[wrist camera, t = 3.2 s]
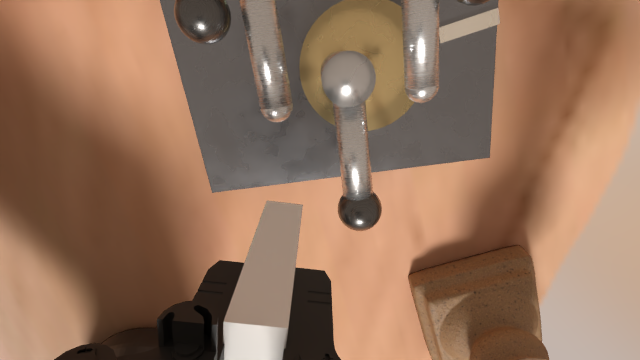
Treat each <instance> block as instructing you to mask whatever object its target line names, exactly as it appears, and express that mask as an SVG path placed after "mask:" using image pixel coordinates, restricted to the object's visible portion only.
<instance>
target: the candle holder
mask: <svg viewBox="0 0 640 360" xmlns="http://www.w3.org/2000/svg"><path fill="white" fill-rule="evenodd" d="M408 279H409V284H410V288H411V292H412V296H413V299H414V303H415V306H416V310H417V313H418V317H419V321H420V324H421V328H422V331H423V335H424V338H425V342H426V345H427V347H428V350H429V353H430V355H431V358H432V360H549V357H548V352H547V350H546V348H545V346H544V345H543V343H542V333H541V320H540V310H539V303H538V297H537V290H536V281H535V272H534V267H533V262H532V258H531V256H530V255H529V254H528V253H527V252H526V251H525V250H524V249H523V248H522V247H521V246H520V245H514V246H510V247H505V248H501V249H497V250H493V251H490V252H486V253H482V254H478V255H475V256H471V257H467V258H464V259H460V260H456V261H452V262H449V263H445V264H441V265H438V266H434V267H430V268H426V269H423V270H420V271H417V272H414V273H411V274H410V275H409V277H408Z"/></svg>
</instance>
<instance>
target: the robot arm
mask: <svg viewBox="0 0 640 360" xmlns="http://www.w3.org/2000/svg"><path fill="white" fill-rule="evenodd" d="M302 207H303V205H300V204H291V203H283V202H275V201H267V202H266V204H265V207H264V210H263V213H262V216H261V218H260V221H259V224H258V227H257V229H256V232H255V235H254V238H253V241H252V243H251V246H250V249H249V252H248V255H247V257H246V260H245V263H240V262H231V261H221V260H220V261H218V262H217V263H216V264H215V265H213V266H212V267H211V268H210V269H208V271H207V273H206V275H205V277H204V279H203V282H202V283H201V285H200V287H199V289H198V292H197V293H196V295H195V297H194V299H193V301H185V302H182V303H179V304H175V305H173V306H172V307H170V308H168V309H167V310H165V311H164V312H163V313H162V314H161V315H160V316H159V317H158V318H157V327H158V328H139V329H132V330H127V331H124V332H121V333H118V334H116V335H113V336H112V337H110V338H108V339H107V340H105V341H104V342H103V343H102V344H96V343H93V344H87V345H81V346H78V347H76V348H73V349H71V350H69V351H66V352H65V353H63V354H62V355H60V356H59V357H57V358H56V359H54V360H341V359H340V358H339V357H338V355H337V353H336V351H335V348H334V341H333V318H332V295H331V281H330V279H329V277H328V276H327V274H326V273H325V271H322V270H313V269H304V268H295V266H296V258H297V249H298V241H299V232H300V224H301V215H302Z"/></svg>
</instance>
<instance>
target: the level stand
mask: <svg viewBox="0 0 640 360" xmlns="http://www.w3.org/2000/svg"><path fill="white" fill-rule="evenodd" d="M175 1H176V0H160V3H161V6H162V10H163V14H164V17H165V21H166V25H167V28H168V32H169V36H170V39H171V43H172V47H173V50H174V54H175V58H176V61H177V65H178V69H179V72H180V76H181V80H182V83H183V87H184V91H185V94H186V98H187V102H188V105H189V109H190V113H191V116H192V120H193V124H194V127H195V131H196V135H197V138H198V142H199V146H200V149H201V153H202V157H203V160H204V164H205V168H206V171H207V175H208V179H209V182H210V186H211V190H212V193H214V192H221V191H229V190H237V189H245V188H253V187H261V186H269V185H277V184H285V183H292V182H300V181H308V180H316V179H324V178H332V177H340V176H341V171H340V162H339V154H338V145H337V137H336V128H335V125H333V124H331V123H329V122H328V121H326V120H325V119H323V118H322V117H321V116H320V115H319V114H318V113H317V112H316V111H315V110H314V109H313V107H312V106H311V104H310V103H309V101H308V99H307V97H306V95H305V93H304V90H303V87H302V84H301V79H300V70H299V65H300V55H301V50H302V46H303V43H304V40H305V38H306V36H307V33H308V32H309V30H310V28H311V27H312V25H313V24H314V23H315V21H316V20H317V19H318V18H319V17H320V16H321V15H322V14H323V13H324V12H325V11H326V10H328V9H329V8H330V7H332V6H333V5H335V4H337V3H339V2H341V1H343V0H276V4H277V10H278V16H279V22H280V29H281V35H282V41H283V47H284V54H285V60H286V66H287V72H288V79H289V85H290V91H291V97H292V104H293V108H292V112H291V114H290V116H289V117H288V118H287V119H286V120H284V121H282V122H272V121H269V120H268V119H266V118H265V117H264V116H263V114H262V112H261V110H260V105H259V100H258V95H257V90H256V85H255V80H254V75H253V70H252V65H251V59H250V54H249V49H248V44H247V39H246V34H245V29H244V24H243V19H242V14H241V8H240V3H239V0H226V2H227V4H228V6H229V8H230V12H231V25H230V29H229V31H228V33H227V34H226V36H225V37H224V38H223V39H222V40H220V41H219V42H217V43H214V44H200V43H197V42H194V41H192V40H191V39H189V38H188V37H187V36H186V35H185V34H184V33H183V32H182V31H181V30H180V28H179V26H178V24H177V22H176V19H175V15H174V5H175ZM390 1H392V2H394V3H396V4H397V5H399V6H401V0H390ZM498 24H500V18H499V9H498V0H490V1H488V2H486V3H484V4H481V5H476V6H468V5H464V4H461V3H459V2H458V1H457V0H439V89H438V92H437V94H436V95H435V96H434V97H433V98H432V99H431V100H429V101H428V102H424V103H417V102H414V104H413V105H412V106H411V107H410V109H409V110H408V111H407V112H406V113H405V114H404V115H402V116H401V117H400V118H399V119H397V120H396V121H394V122H393V123H391V124H389V125H387V126H385V127H382V128H379V129H376V130H371V131H368V138H369V150H370V163H371V172H379V171H387V170H395V169H403V168H411V167H419V166H426V165H434V164H442V163H450V162H458V161H466V160H474V159H482V158H490V142H491V124H492V106H493V88H494V70H495V51H496V33H497V25H498Z"/></svg>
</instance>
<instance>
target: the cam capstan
mask: <svg viewBox="0 0 640 360" xmlns="http://www.w3.org/2000/svg"><path fill="white" fill-rule="evenodd" d="M457 1H458V2H459V3H461V4H464V5H468V6H476V5H481V4H484V3H486V2H488V1H490V0H457ZM239 3H240V8H241V14H242V19H243V24H244V29H245V34H246V39H247V44H248V49H249V54H250V59H251V65H252V70H253V75H254V80H255V85H256V90H257V95H258V100H259V105H260V110H261V112H262V114H263V116H264V117H265V118H266V119H268V120H269V121H272V122H282V121H284V120H286V119H287V118H288V117H289V116H290V114H291V112H292V108H293V104H292V97H291V91H290V85H289V79H288V72H287V66H286V60H285V54H284V47H283V41H282V35H281V29H280V22H279V16H278V10H277V4H276V0H239ZM174 15H175V19H176V22H177V24H178V26H179V28H180V30H181V31H182V32H183V33H184V34H185V35H186V36H187V37H188V38H189V39H191V40H192V41H194V42H197V43H200V44H214V43H217V42H219V41H220V40H222V39H223V38H224V37H225V36H226V34H227V33H228V31H229V29H230V25H231V12H230V8H229V6H228V4H227V2H226V0H176V1H175V5H174ZM299 70H300V79H301V84H302V87H303V90H304V93H305V95H306V97H307V99H308V101H309V103H310V104H311V106H312V107H313V109H314V110H315V111H316V112H317V113H318V114H319V115H320V116H321V117H322V118H323V119H325V120H326V121H328V122H329V123H331V124H333V125H335V128H336V137H337V145H338V154H339V162H340V171H341V179H342V188H343V195H342V197H341V198H340V201H339V204H338V214H339V217H340V219H341V221H342V222H343V223H344V224H345V225H346V226H347V227H348V228H350V229H353V230H356V231H364V230H368V229H370V228H372V227H373V226H374V225H375V224H376V223H377V222H378V220H379V219H380V216H381V212H382V207H381V202H380V200H379V198H378V196H377V195H376V194H375V193H374V192H373V187H372V175H371V163H370V150H369V138H368V131H371V130H376V129H379V128H382V127H385V126H387V125H389V124H391V123H393V122H394V121H396V120H397V119H399V118H400V117H401V116H402V115H404V114H405V113H406V112H407V111H408V110H409V109H410V107H411V106H412V105H413V104H414V102H417V103H424V102H428V101H429V100H431V99H432V98H433V97H434V96H435V95H436V94H437V92H438V89H439V0H401V6H399V5H397V4H396V3H394V2H392V1H390V0H343V1H341V2H339V3H337V4H335V5H333V6H332V7H330V8H329V9H328V10H326V11H325V12H324V13H323V14H322V15H321V16H320V17H319V18H318V19H317V20H316V21H315V23H314V24H313V25H312V27H311V28H310V30H309V32H308V33H307V36H306V38H305V40H304V43H303V46H302V50H301V55H300V65H299Z"/></svg>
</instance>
